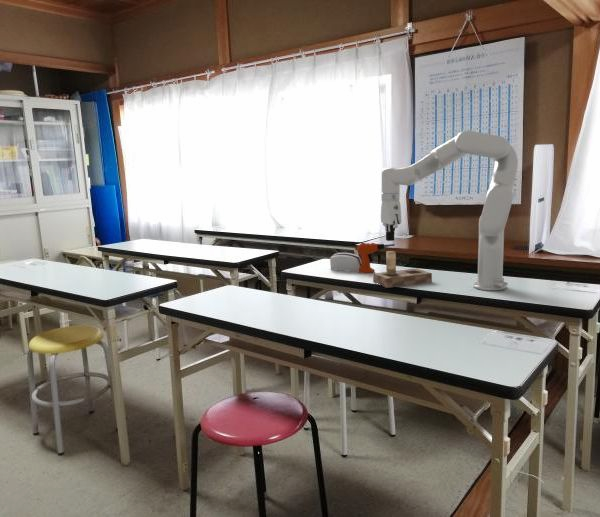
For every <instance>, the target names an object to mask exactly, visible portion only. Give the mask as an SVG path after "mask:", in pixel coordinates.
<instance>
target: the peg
mask: <svg viewBox="0 0 600 517" xmlns="http://www.w3.org/2000/svg"><path fill="white" fill-rule="evenodd" d="M396 253H397V252H396V251H394V250H390V251H389V250H388V251H386V253H385V255H386V258H385V260H386V263H385V265H386V268H385V269H386V271H385V272H386V276H396V271H397V263H396V262H397V259H396V258H397V257H396V256H397V254H396Z"/></svg>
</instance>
